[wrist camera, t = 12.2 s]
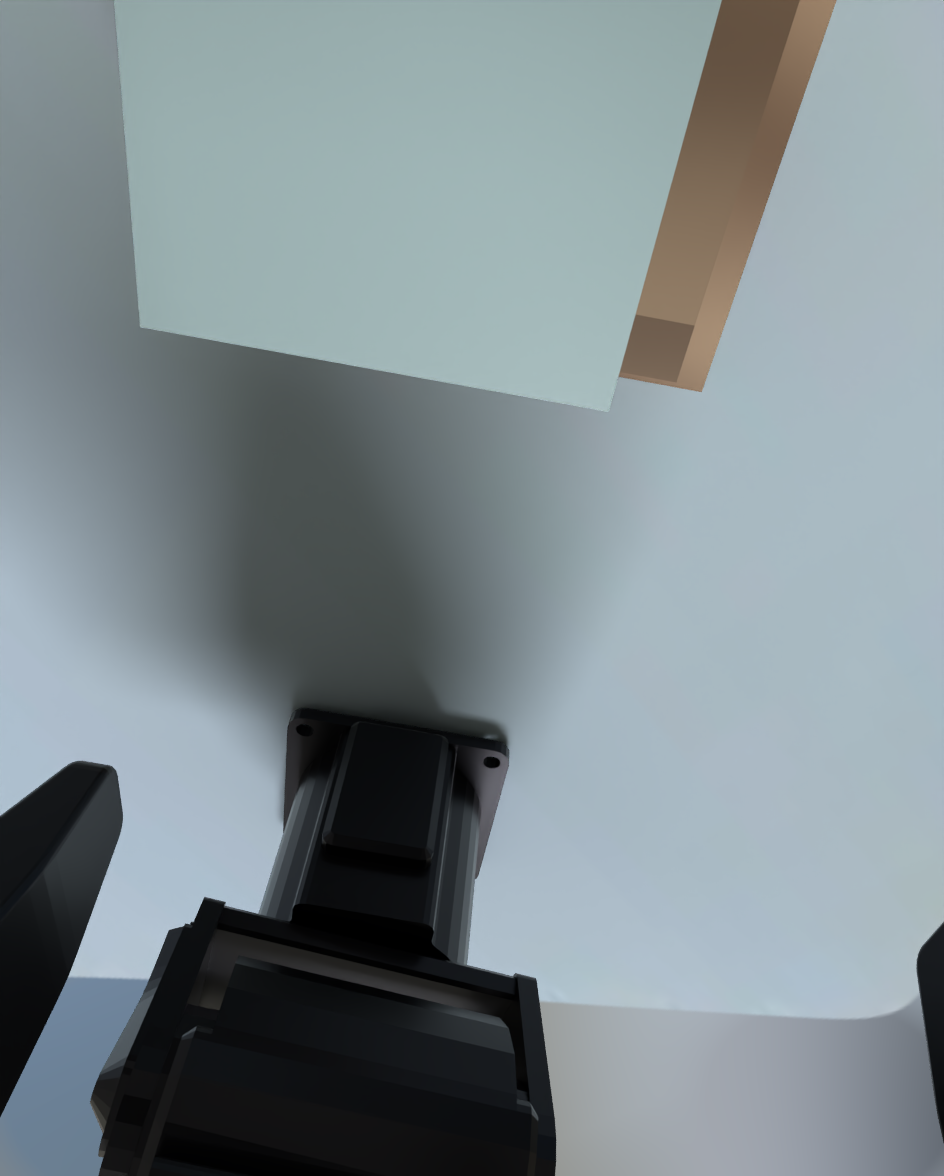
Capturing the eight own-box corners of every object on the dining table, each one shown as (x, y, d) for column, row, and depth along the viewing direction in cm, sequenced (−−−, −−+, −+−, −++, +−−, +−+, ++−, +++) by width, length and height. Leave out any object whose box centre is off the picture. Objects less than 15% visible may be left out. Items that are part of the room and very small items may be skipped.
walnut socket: (697, 376, 18) (721, 457, 15) (180, 280, 18) (108, 344, 15) (951, -381, 12) (1079, -489, 9) (141, -555, 11) (-1, -724, 8)
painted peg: (586, 196, 16) (609, 412, 8) (335, 149, 15) (140, 327, 8) (658, -130, 13) (782, -225, 6) (353, -191, 13) (83, -367, 6)
